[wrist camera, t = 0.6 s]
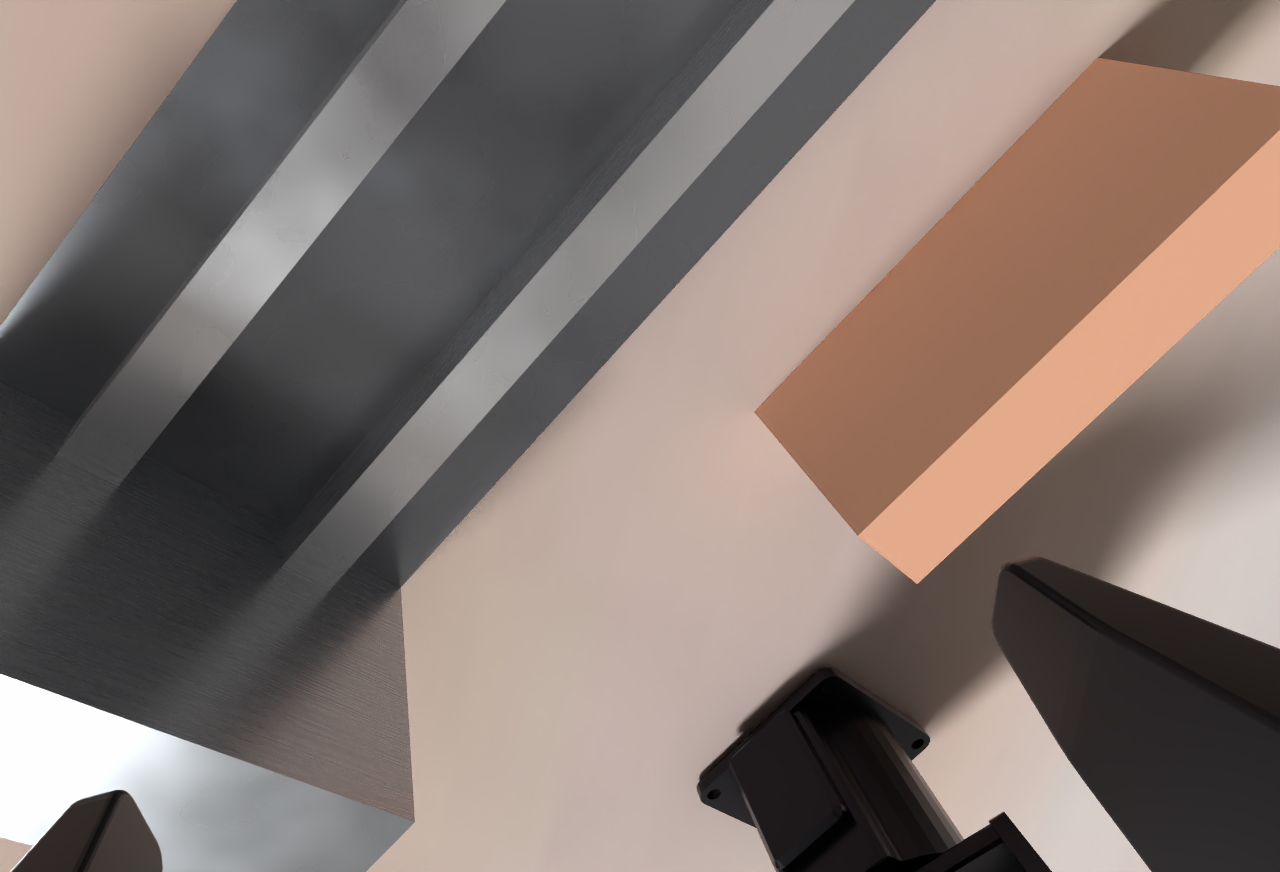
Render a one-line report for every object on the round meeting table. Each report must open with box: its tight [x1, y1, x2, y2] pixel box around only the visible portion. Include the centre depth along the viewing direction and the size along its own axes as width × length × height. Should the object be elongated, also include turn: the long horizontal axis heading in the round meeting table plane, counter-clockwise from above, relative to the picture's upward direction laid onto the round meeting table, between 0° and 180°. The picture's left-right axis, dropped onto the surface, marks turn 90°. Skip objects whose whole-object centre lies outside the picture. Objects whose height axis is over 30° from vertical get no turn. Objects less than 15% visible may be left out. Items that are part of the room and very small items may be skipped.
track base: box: [0, 0, 936, 872], centre depth 15 cm, size 10×28×8 cm, turn 135°
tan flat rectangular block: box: [755, 58, 1280, 584], centre depth 21 cm, size 2×12×6 cm, turn 135°
